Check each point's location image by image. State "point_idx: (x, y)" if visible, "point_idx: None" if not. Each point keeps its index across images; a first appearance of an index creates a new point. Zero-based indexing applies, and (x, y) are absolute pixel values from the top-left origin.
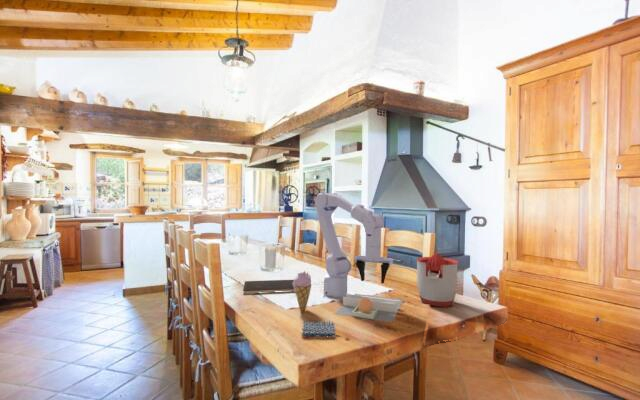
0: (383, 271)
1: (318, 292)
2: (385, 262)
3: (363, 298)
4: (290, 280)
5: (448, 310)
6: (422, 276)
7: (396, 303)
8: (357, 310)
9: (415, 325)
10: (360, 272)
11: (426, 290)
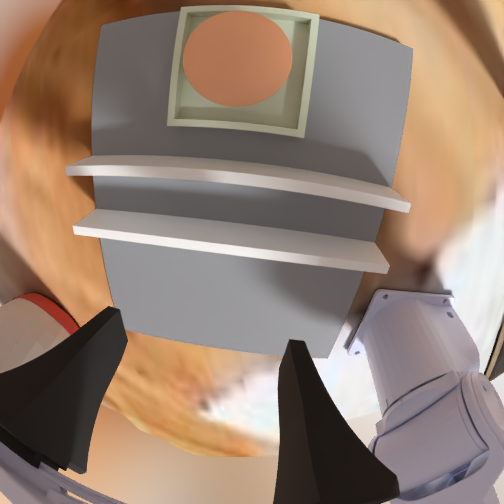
0: (35, 371)
1: None
2: (18, 458)
3: (247, 44)
4: (497, 373)
5: (14, 271)
6: None
7: (90, 220)
8: (297, 93)
9: (40, 83)
10: (323, 406)
11: (27, 329)
